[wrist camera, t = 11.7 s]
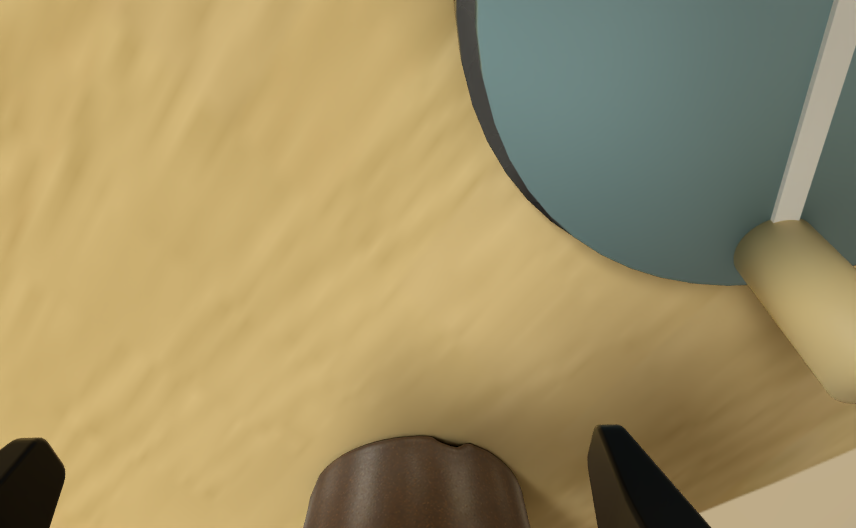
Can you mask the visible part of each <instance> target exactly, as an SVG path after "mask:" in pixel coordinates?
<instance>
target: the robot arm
mask: <svg viewBox="0 0 856 528" xmlns="http://www.w3.org/2000/svg"><path fill="white" fill-rule="evenodd" d="M588 471H589V477H590V483H591V489H592V495H593V501H594V507H595V513H596V519H597V525H598V528H711V527H710V526H709V525H708V524H707V522H706V521H705V520H704V519H703V518H702V517H701V515H700V514H699V513H698V512H697V511H696V510H695V509H694V507H693V506H692V505H691V504H690V503H689V502H688V501H687V499H686V498H685V497H684V496H683V495H682V494H681V492H680V491H679V490H678V489H677V488H676V487H675V486H674V484H673V483H672V482H671V481H670V480H669V479H668V478H667V476H666V475H665V474H664V473H663V472H662V471H661V470H660V468H659V467H658V466H657V465H656V464H655V463H654V462H653V460H652V459H651V458H650V457H649V456H648V455H647V454H646V452H645V451H644V450H643V449H642V448H641V447H640V445H639V444H638V443H637V442H636V441H635V440H634V439H633V437H632V436H631V435H630V434H629V433H628V432H627V431H626V429H625V428H623V427H622V426H620V425H617V424H615V425H597V426H596V427H595V428H594V431H593V435H592V439H591V444H590V448H589V452H588ZM64 480H65V468H64V465H63V463H62V462H61V460H60V459H59V458H58V456H57V455H56V453H55V452H54V450H53V449H52V447H51V446H50V445H49V443H48V442H47V441H46V440H45V439H43V438H19V439H16V440H14V441H12V442H10V443H9V444H7V445H6V446H5V447H3V448H2V449H1V450H0V528H49V527H50V524H51V521H52V518H53V515H54V512H55V509H56V506H57V502H58V499H59V496H60V493H61V490H62V487H63V484H64Z"/></svg>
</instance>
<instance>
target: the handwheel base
mask: <svg viewBox="0 0 856 528" xmlns="http://www.w3.org/2000/svg"><path fill="white" fill-rule="evenodd" d="M454 8H455V17H456V25H457V33H458V42H459V50H460V55H461V61H462V66H463V70H464V74H465V77H466V81H467V85H468V89H469V93H470V97H471V101H472V105H473V108H474V110H475V112H476V115H477V117H478V120H479V122H480V125H481V127H482V130H483V132H484V134H485V137H486V139H487V142H488V143H489V145H490V147H491V148H492V150H493V152H494V154H495V155H496V157H497V159H498V160H499V162H500V164H501V165H502V167H503V169H504V171H505V172H506V174H507V175H508V176H509V177H510V179H511V180H512V181H513V182H514V184H515V185H516V186H517V187H518V188H519V190H520V191H521V192H522V193H523V195H524V196H525V197H526V198H527V200H529V201H530V202H531V203H532V204H533V205H534V206H535V207H536V208H537V209H538V210H539V211H541V212H542V213H543V214H544V215H545V216H546V217H547V218H548V219H549V220H550V221H551V222H553V223H554V224H556V225H557V226H559V227H560V228H562V229H563V230H565V231H566V232H568V231H567V230H566V229H564V228H563V227H562V226H561V225H560V224H559V223H558V222H556V221H555V220H554V219H553V218H552V217H551V216H550V215H549V214H548V213H547V212H546V210H545V209H544V208H543V207H542V206H541V204H540V203H539V202H538V201H537V200H536V199H535V197H534V196H533V195H532V194H531V193H530V191H529V190H528V189H527V187H526V185H525V184H524V182H523V180H522V179H521V177H520V176H519V174H518V172H517V171H516V169H515V167H514V166H513V164H512V162H511V161H510V159H509V157H508V154H507V152H506V149H505V147H504V145H503V142H502V140H501V138H500V135H499V133H498V130H497V128H496V126H495V123H494V119H493V115H492V112H491V108H490V104H489V100H488V96H487V92H486V89H485V85H484V81H483V77H482V73H481V69H480V61H479V53H478V45H477V36H476V28H475V0H454ZM568 233H569V232H568ZM569 234H570V233H569ZM573 237H574V236H573Z"/></svg>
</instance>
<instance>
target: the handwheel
mask: <svg viewBox="0 0 856 528" xmlns="http://www.w3.org/2000/svg"><path fill="white" fill-rule="evenodd" d="M475 28H476V36H477V45H478V53H479V61H480V69H481V73H482V77H483V81H484V85H485V89H486V92H487V96H488V100H489V104H490V108H491V112H492V115H493V119H494V123H495V126H496V128H497V130H498V133H499V135H500V138H501V140H502V142H503V145H504V147H505V149H506V152H507V154H508V157H509V159H510V161H511V162H512V164H513V166H514V167H515V169H516V171H517V172H518V174H519V176H520V177H521V179H522V180H523V182H524V184H525V185H526V187H527V189H528V190H529V191H530V193H531V194H532V195H533V196H534V197H535V199H536V200H537V201H538V202H539V203H540V204H541V206H542V207H543V208H544V209H545V210H546V212H547V213H548V214H549V215H550V216H551V217H552V218H553V219H554V220H555V221H556V222H558V223H559V224H560V225H561V226H562V227H563V228H564V229H566V230H567V231H568V232H569V233H570V234H571V235H572V236H574V237H575V238H576V239H578V240H579V241H581V242H582V243H584V244H586V245H587V246H589V247H590V248H592V249H593V250H595V251H596V252H598V253H599V254H601V255H603V256H605V257H607V258H610V259H612V260H614V261H616V262H618V263H620V264H623V265H625V266H627V267H629V268H632V269H635V270H638V271H641V272H645V273H648V274H651V275H654V276H658V277H661V278H666V279H672V280H677V281H683V282H688V283H695V284H710V285H726V286H731V285H748V286H749V287H750V289H751V290H752V291H753V293H754V294H755V295H756V297H757V298H758V299H759V301H760V302H761V303H762V305H763V306H764V308H765V309H766V310H767V312H768V313H769V314H770V316H771V317H772V318H773V320H774V321H775V322H776V324H777V325H778V326H779V328H780V329H781V330H782V332H783V333H784V335H785V336H786V337H787V339H788V340H789V341H790V343H791V344H792V345H793V347H794V348H795V349H796V351H797V352H798V353H799V355H800V356H801V357H802V359H803V360H804V362H805V363H806V364H807V366H808V367H809V368H810V370H811V371H812V372H813V374H814V375H815V376H816V378H817V379H818V380H819V382H820V383H821V385H822V386H823V387H824V389H825V390H826V391H827V393H828V394H829V395H830V396H831V397H832V398H834V399H835V400H838V401H840V402H844V403H850V404H856V269H855V268H854V267H853V266H854V265H856V0H475Z"/></svg>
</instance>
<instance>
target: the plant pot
mask: <svg viewBox="0 0 856 528" xmlns="http://www.w3.org/2000/svg"><path fill="white" fill-rule="evenodd" d="M303 528H530V524H529V520H528V516H527V512H526V508H525V504H524V499H523V495H522V491H521V488H520V486H519V483H518V481H517V479H516V477H515V476H514V474H513V473H512V471H511V470H510V469H509V468H508V467H507V466H506V465H505V464H504V463H503V462H502V461H500V460H499V459H498V458H497V457H495V456H494V455H493V454H491V453H490V452H488V451H486V450H483V449H481V448H479V447H476V446H474V445H472V444H463V445H462V446H460V447H452V446H449V445H446V444H443V443H440V442H439V441H437V440H436V439H434V438H433V437H429V436H412V437H400V438H393V439H387V440H382V441H378V442H374V443H370V444H367V445H364V446H361V447H359V448H356V449H354V450H352V451H350V452H347V453H346V454H344V455H342V456H340V457H339V458H338V459H336V460H335V461H333V462H332V463H331V464H330V465H329V466H327V467H326V468H325V470H324V471H323V472H322V473H321V474H320V476H319V478H318V480H317V483H316V485H315V487H314V490H313V492H312V494H311V497H310V501H309V506H308V511H307V515H306V519H305V523H304V527H303Z"/></svg>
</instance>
